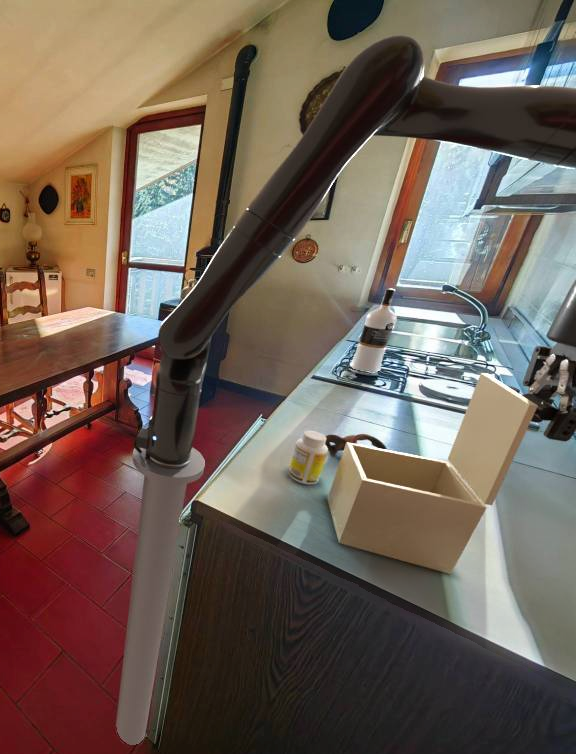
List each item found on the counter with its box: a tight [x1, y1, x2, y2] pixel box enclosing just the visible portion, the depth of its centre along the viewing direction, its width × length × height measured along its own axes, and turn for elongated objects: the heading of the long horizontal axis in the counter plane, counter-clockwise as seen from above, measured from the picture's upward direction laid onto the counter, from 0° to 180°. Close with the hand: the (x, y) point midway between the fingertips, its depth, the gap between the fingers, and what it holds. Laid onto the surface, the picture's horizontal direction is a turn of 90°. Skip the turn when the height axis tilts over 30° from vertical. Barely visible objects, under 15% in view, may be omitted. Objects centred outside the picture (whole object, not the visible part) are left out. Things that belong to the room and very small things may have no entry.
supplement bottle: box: [288, 430, 329, 485], centre depth 80 cm, size 6×6×10 cm
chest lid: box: [447, 372, 558, 506], centre depth 56 cm, size 15×13×5 cm
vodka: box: [348, 288, 398, 377], centre depth 136 cm, size 9×9×30 cm
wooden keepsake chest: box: [327, 442, 487, 575], centre depth 65 cm, size 15×13×13 cm
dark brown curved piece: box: [324, 433, 388, 458], centre depth 86 cm, size 12×10×8 cm
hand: (542, 429), depth 54 cm, fingers open, 5 cm apart
